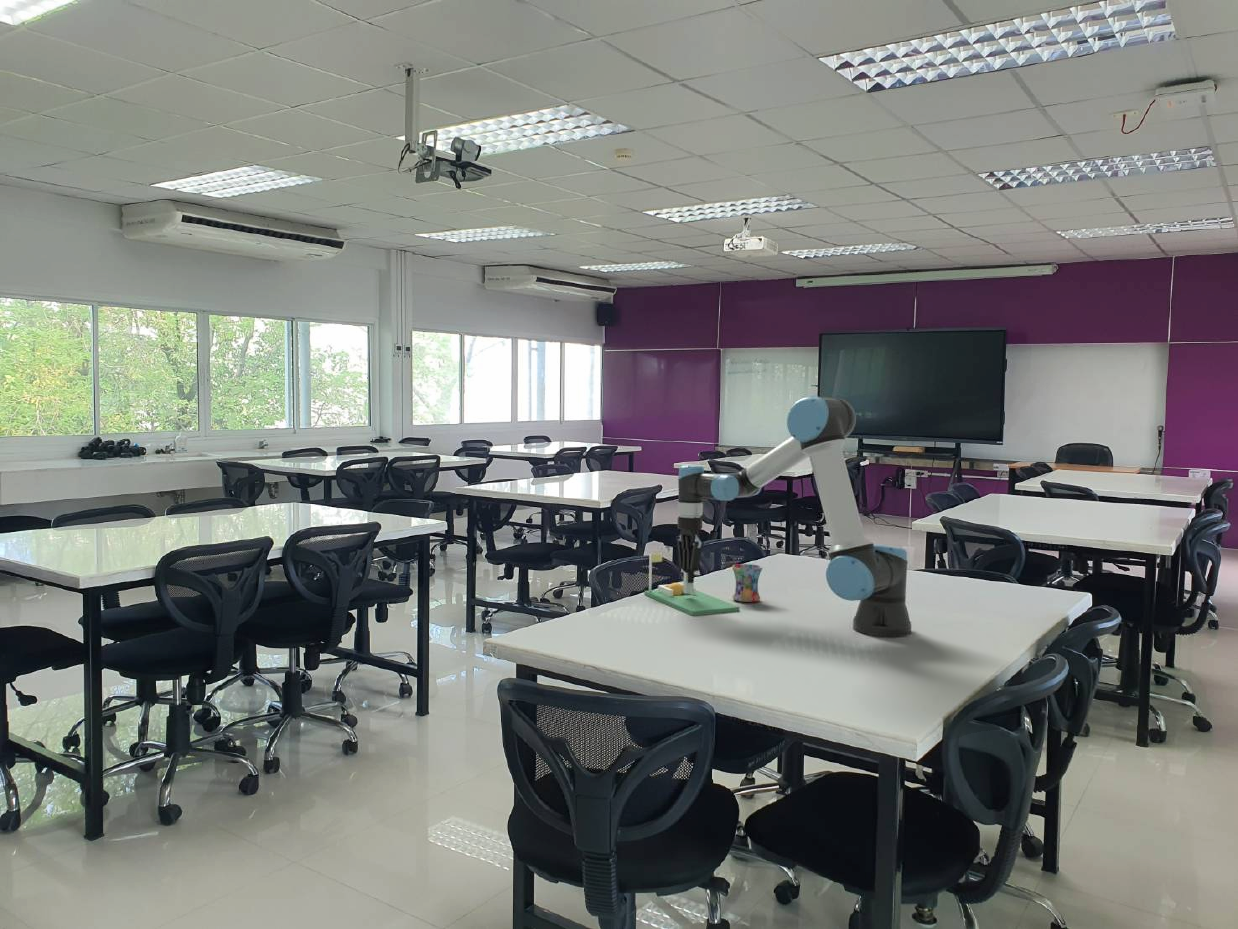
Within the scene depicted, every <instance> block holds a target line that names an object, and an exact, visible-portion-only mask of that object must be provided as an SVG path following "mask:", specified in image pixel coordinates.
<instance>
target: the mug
mask: <svg viewBox="0 0 1238 929" xmlns="http://www.w3.org/2000/svg"><path fill="white" fill-rule="evenodd" d="M731 568H732V571H733V573H734V576H735V579H734V580H735V589H734V593H733V595H732V599H733V600H735V601H737V602H741V603H754V602H758V601H759V600H761V596H760V594H759V587H758V586H759V579H760V578H759V577H760V576H761V572H762V570H763V566H761V565H758V564H753V563H752V564H750V563H740V564H739V563H738V564H733V565H731Z"/></svg>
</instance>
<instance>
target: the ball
mask: <svg viewBox="0 0 1238 929" xmlns="http://www.w3.org/2000/svg"><path fill="white" fill-rule="evenodd" d="M670 584H671V585H670V586H669V589H672V590H673V596H682V592H683V588H682V586H681V585H680V584H681V583H679V582H672V583H670Z"/></svg>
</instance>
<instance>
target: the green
mask: <svg viewBox="0 0 1238 929" xmlns="http://www.w3.org/2000/svg"><path fill="white" fill-rule="evenodd" d="M661 562H663V553H662V552H661V553H649V564H648V570H649V571H648V590H644V596H647V597H649V598H651V599H653V600H656V601H658V602H660V603H662V604H665V605H666V606H669V607H671V608H673V609H676V610H678V611H680V612H682V613H685V614H687V615H690V616H703V615H711V614H714V615H715V614H723V612H724V613H733V612H734V613H735V612H740V609H741V608H740V606H738V605H735V604H733V603H731V602H727V601H725V600H722V599H720V598H718V597H715V596H712V595H709V594H707V593H704V592H701V591H699V590H697V588H695V587H693V593H687V594H685V593H683V592H682V594H681V595H680V596H673V590H672V589H669V586H670V585H671V584H672V583H670V584H659V585H658V586H657V589H655V590H653V589H652V577H653V576H652V575H653V574H652V572H653V570H652V569H653V563H661ZM683 583H684V582H682V583H679V584H680V585H681V586H682V588H683Z"/></svg>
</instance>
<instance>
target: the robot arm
mask: <svg viewBox="0 0 1238 929" xmlns="http://www.w3.org/2000/svg"><path fill="white" fill-rule="evenodd" d="M856 421H857V416H856V412H855V409H854V408H853V406H852V405H851V404H850V403H849V402H848V401H846V400H845V399H842V398H839V397H824V396H823V397H821V396H809V397H802V398H801V399H799V400H796V402H795V403H793V405H792V406H791V408H790V410H789V411H788V413H787V418H786V428H787V431H788V433H789V435H790V436H791V437H790V438H788V439H787V440H785V441H783V442H782V443H780V444H779V445H777V446H776V447H775V448H773V449H771V450H770V451H768V452H767V453H766V454H764V455H763V456H761V457H760V458H757V460H755V461H753V462H752V463H750V465H748V466H747V467H745V468H744V469H742V470H740V471H738V472H731V473H729V472H728V473H708V472H707V473H706V472H705V471H704V466H703V465H694V464H684V465H681V466H679V471H678V478H677V480H678V483H677V484H678V501H677V515H678V517H677V529H679V530H680V534H679V535H678V536H676V537H675V539H676V543H677V553H678V564H679V568H680V569H682V571H683V582H682V583H683V593H685V594H687V593H693V587H694V585H695V584H694V582H695V573H696V572H698V571H699V568H700V563H701V556H702V550H703V546H704V544H705V542H704V541H703V540H701V539H700V533H699V531H700V530H702V529H703V517H702V516H703V512H704V511H703V508H704V504H703V502H704V499H710V500H718V501H721V502H722V501H733V500H734V499H736V498H737V499H738V498H751V497H753V496H756V495H758V494H759V493H760V492H761V491H762V490H763V487H764V486H766V485H767V484H769V483H771V482H772V481H773V480H775V479H776V478H779V476H781V475H783V474H784V473H786V472H788V471H789V470H791V469H793V468H795V466H797V465H799V464H800V463H802V462H803V461H805V460H806V459H809V460H810V464H811V468H812V472H813V477H814V479H815V484H816V488H817V491H818V495H819V499H820V502H821V507H822V511H823V514H824V519H825V522H826V525H827V526H826V527H827V529H828V533H829V537H830V541H831V546H830V548H829V549H828V558H829V563H828V565H827V567H826V569H825V578H826V583H827V586H828V587H829V588H830V590H831V591H832V592H833V594H835V595H836V596H837V597H839V598H840V599H842V600H845V601H848V602H849V601H859V604H858V607H857V610H856V613H855V616H854V617H853V619H852V629H853V630H855V631H857V632H859V633H863V634H866V635H871V636H877V637H891V638H892V637H904V636H908V635H910V634H912V622H911V621H910V616H909V611H908V607H907V604H906V597H907V596H906V595H907V576H908V575H907V573H908V563H909V562H908V551H907V550H906V549H905V548H903V547H898V546H891V545H883V544H874V542H873V541H872V540H870V539H868V538H867V537H866V535H865V531H864V528H863V525H862V524H863V523H862V520H861V516H860V513H859V509H858V506H857V505H858V504H857V501H856V498H855V495H854V490H853V487H852V483H851V482H852V481H851V479H850V476H849V475H850V474H849V471H848V467H847V463H846V460H845V456H844V453H843V446H844V444H845V443H846V438H848V436H850V434H851V433H853V431H854V428H855V426H856ZM694 588H695V587H694Z"/></svg>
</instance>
